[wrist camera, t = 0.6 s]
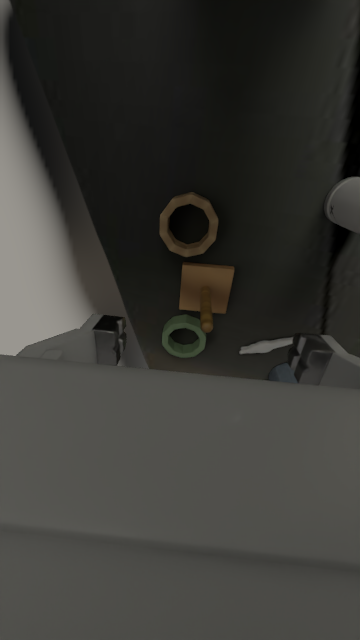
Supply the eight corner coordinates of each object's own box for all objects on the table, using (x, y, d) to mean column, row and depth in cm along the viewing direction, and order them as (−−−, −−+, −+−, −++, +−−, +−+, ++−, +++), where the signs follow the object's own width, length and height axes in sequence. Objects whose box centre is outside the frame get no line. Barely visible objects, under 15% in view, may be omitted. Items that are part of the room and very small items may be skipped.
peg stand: (183, 261, 43) (176, 298, 32) (233, 266, 43) (246, 305, 31) (179, 305, 48) (173, 351, 36) (224, 309, 48) (232, 357, 36)
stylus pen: (239, 353, 54) (240, 359, 52) (237, 344, 52) (238, 349, 51) (312, 338, 50) (315, 343, 49) (311, 328, 49) (315, 333, 47)
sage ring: (164, 312, 49) (162, 320, 47) (207, 316, 49) (208, 324, 46) (163, 347, 54) (161, 356, 52) (202, 351, 54) (202, 360, 52)
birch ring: (163, 189, 37) (160, 191, 35) (220, 194, 37) (222, 196, 34) (161, 249, 42) (159, 254, 40) (212, 253, 42) (212, 259, 39)
